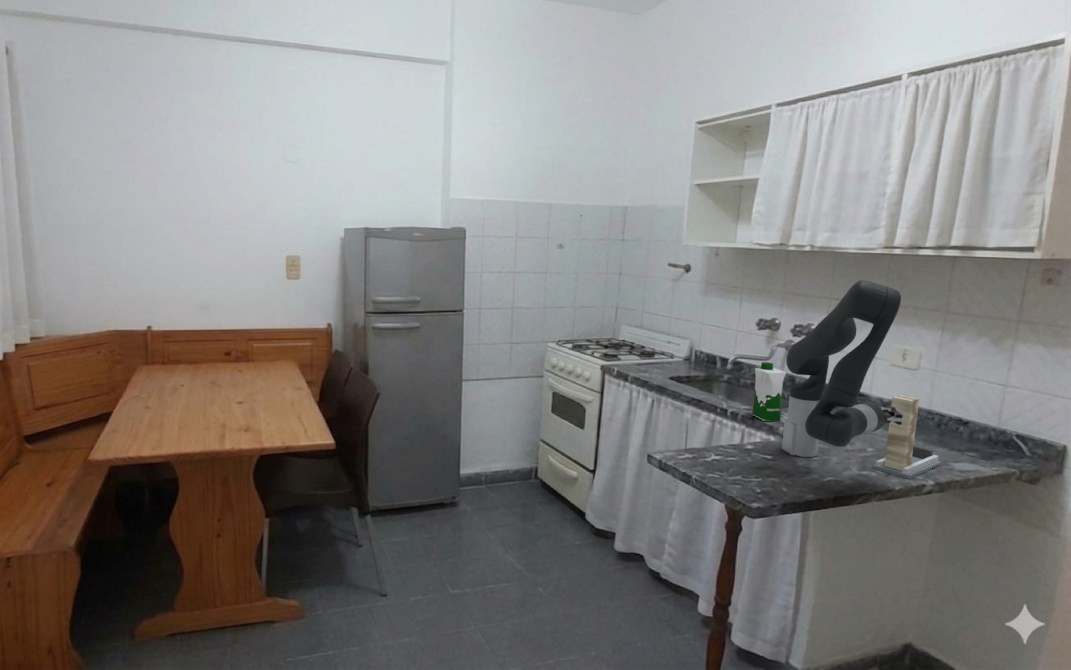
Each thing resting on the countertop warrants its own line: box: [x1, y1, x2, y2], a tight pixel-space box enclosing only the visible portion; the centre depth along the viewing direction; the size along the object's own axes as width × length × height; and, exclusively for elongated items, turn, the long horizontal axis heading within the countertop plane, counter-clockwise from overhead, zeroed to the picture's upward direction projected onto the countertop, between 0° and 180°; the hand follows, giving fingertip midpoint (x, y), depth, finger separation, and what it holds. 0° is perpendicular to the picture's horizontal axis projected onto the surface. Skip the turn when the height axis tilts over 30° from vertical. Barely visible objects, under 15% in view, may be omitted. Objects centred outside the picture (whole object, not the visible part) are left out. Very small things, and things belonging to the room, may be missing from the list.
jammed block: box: [884, 394, 920, 471], centre depth 183 cm, size 5×5×20 cm
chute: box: [872, 445, 942, 480], centre depth 188 cm, size 21×10×4 cm, turn 128°
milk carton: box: [752, 361, 787, 421], centre depth 235 cm, size 9×9×20 cm
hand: (892, 410), depth 177 cm, fingers closed
